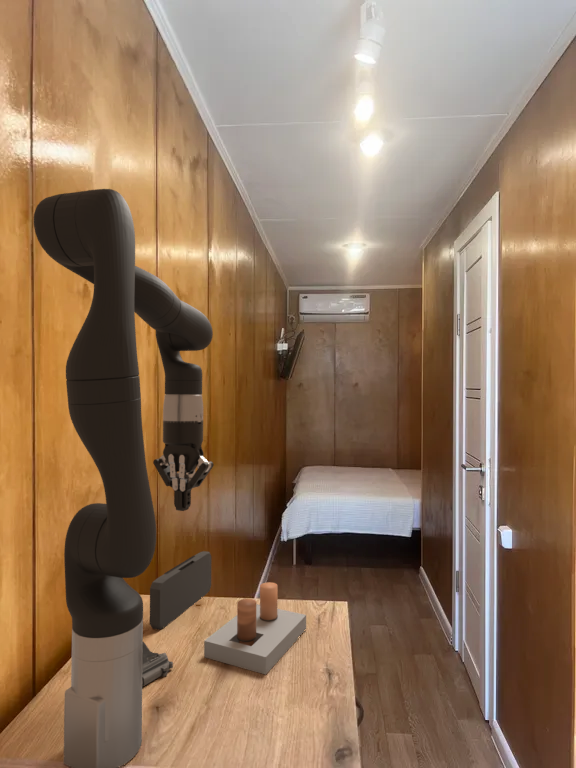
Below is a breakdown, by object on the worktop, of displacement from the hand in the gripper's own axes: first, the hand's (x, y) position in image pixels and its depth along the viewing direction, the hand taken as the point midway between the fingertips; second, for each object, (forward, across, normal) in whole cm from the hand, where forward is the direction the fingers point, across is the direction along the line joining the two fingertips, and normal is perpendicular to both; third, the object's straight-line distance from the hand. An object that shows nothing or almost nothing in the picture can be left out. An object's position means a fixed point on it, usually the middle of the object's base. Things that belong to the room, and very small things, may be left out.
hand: (182, 509), depth 91 cm
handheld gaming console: (+27, -12, +16) cm, 34 cm away
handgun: (+28, -5, -11) cm, 30 cm away
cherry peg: (+27, +11, +6) cm, 30 cm away
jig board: (+27, +11, +10) cm, 31 cm away
